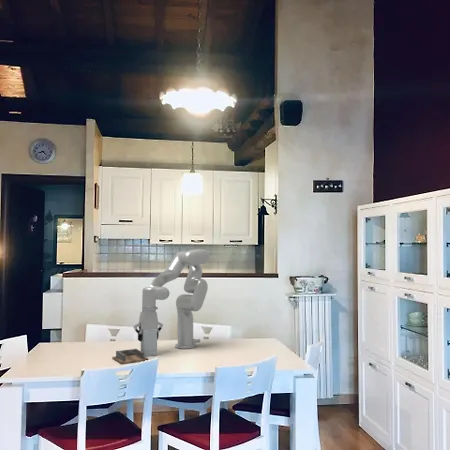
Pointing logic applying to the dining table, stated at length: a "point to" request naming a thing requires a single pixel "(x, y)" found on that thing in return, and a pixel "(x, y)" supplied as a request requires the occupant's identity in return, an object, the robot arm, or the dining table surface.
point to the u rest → (129, 356)
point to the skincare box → (149, 342)
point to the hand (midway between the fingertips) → (148, 340)
